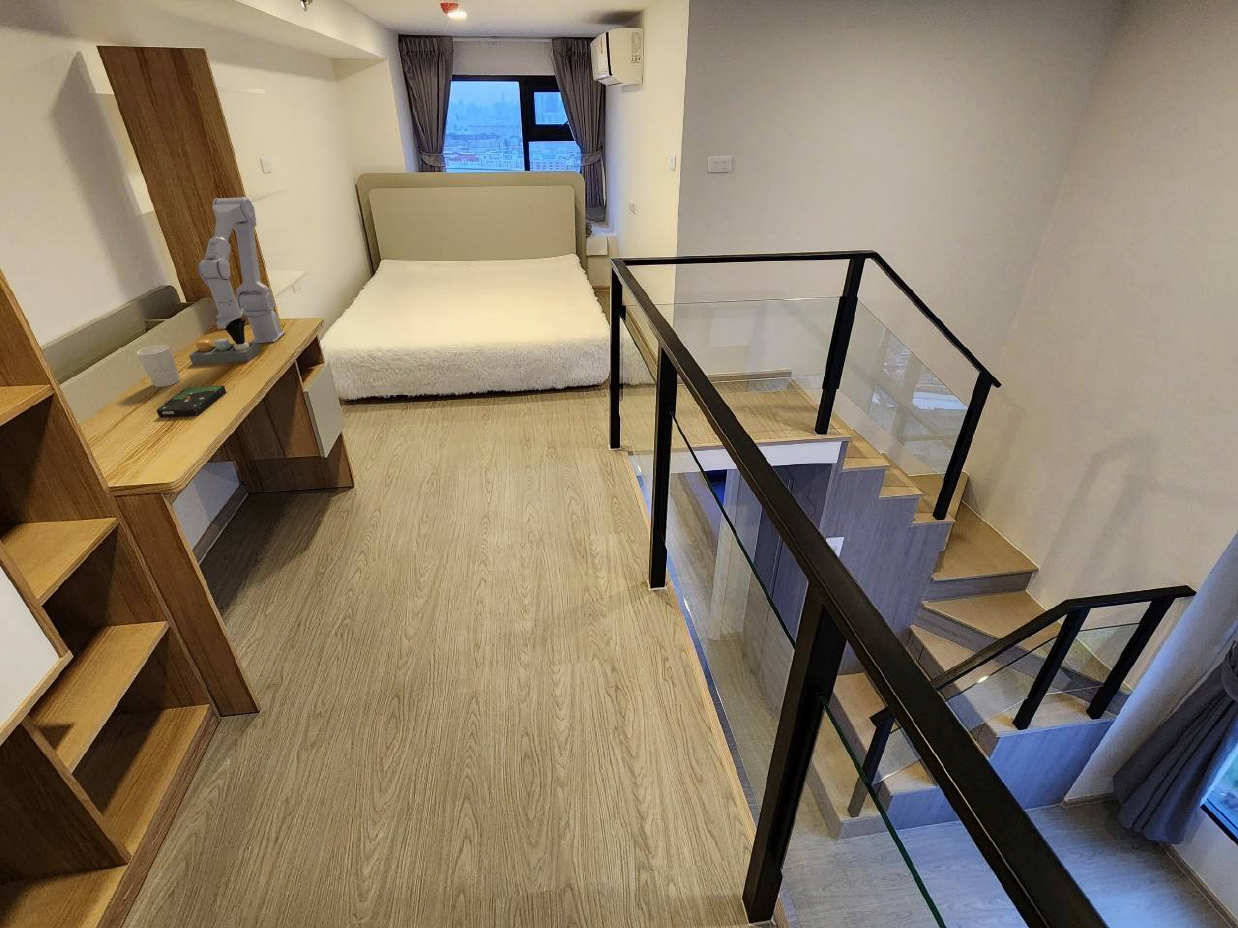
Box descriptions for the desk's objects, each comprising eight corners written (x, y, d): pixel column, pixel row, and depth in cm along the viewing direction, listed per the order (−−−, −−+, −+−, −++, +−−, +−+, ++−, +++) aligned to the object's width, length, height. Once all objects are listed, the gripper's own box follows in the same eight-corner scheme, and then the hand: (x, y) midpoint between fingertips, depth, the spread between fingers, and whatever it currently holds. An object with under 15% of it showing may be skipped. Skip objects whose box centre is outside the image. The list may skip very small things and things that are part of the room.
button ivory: (239, 349, 200) (237, 341, 198) (252, 348, 200) (250, 340, 198) (234, 354, 196) (231, 346, 195) (247, 353, 196) (244, 345, 195)
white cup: (189, 377, 186) (175, 344, 181) (170, 388, 179) (155, 354, 174) (164, 376, 187) (150, 344, 181) (144, 387, 180) (129, 354, 175)
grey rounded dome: (220, 346, 199) (217, 338, 197) (233, 346, 199) (230, 338, 197) (214, 351, 195) (211, 343, 194) (227, 350, 195) (224, 342, 194)
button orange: (202, 347, 198) (199, 339, 197) (215, 347, 199) (212, 339, 197) (196, 352, 195) (193, 344, 194) (209, 351, 195) (206, 343, 194)
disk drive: (200, 418, 163) (228, 393, 176) (195, 408, 162) (224, 384, 174) (159, 420, 163) (190, 395, 175) (154, 410, 161) (186, 386, 174)
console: (206, 354, 202) (203, 345, 201) (261, 351, 203) (258, 342, 201) (192, 364, 194) (188, 355, 193) (249, 361, 195) (245, 352, 194)
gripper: (222, 294, 196) (238, 336, 203) (199, 308, 183) (216, 352, 190) (246, 293, 196) (260, 335, 203) (224, 307, 183) (240, 351, 190)
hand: (240, 343), depth 197 cm, fingers closed, pressing on button ivory
